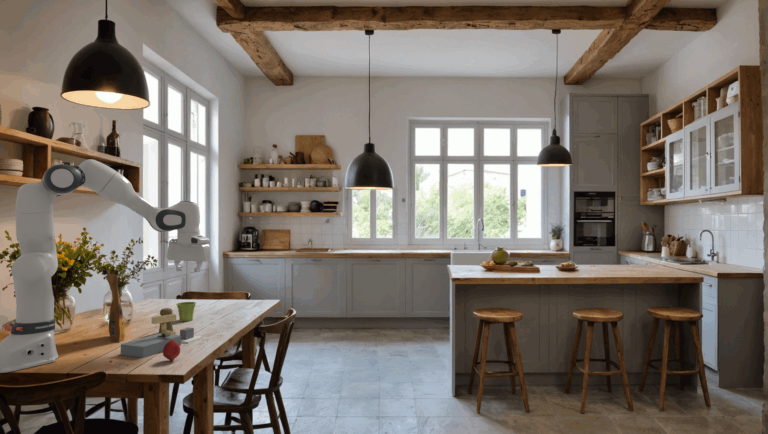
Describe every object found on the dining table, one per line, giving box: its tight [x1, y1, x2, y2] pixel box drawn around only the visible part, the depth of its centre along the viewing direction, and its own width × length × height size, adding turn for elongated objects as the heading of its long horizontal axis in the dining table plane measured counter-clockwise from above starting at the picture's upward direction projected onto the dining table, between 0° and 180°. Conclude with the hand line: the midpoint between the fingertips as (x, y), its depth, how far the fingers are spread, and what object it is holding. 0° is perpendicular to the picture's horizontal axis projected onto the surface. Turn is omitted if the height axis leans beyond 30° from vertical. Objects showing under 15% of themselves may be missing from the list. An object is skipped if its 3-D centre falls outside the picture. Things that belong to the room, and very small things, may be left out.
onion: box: [162, 339, 181, 362], centre depth 173 cm, size 6×6×8 cm
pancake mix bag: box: [105, 272, 126, 343], centre depth 205 cm, size 7×19×28 cm, turn 33°
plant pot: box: [176, 301, 197, 322], centre depth 243 cm, size 9×9×9 cm
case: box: [120, 332, 182, 359], centre depth 187 cm, size 19×11×4 cm, turn 161°
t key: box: [151, 313, 177, 336], centre depth 191 cm, size 8×9×8 cm
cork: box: [158, 307, 174, 334], centre depth 216 cm, size 6×6×11 cm
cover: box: [179, 327, 204, 344], centre depth 203 cm, size 9×9×5 cm
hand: (188, 271), depth 204 cm, fingers open, 8 cm apart
